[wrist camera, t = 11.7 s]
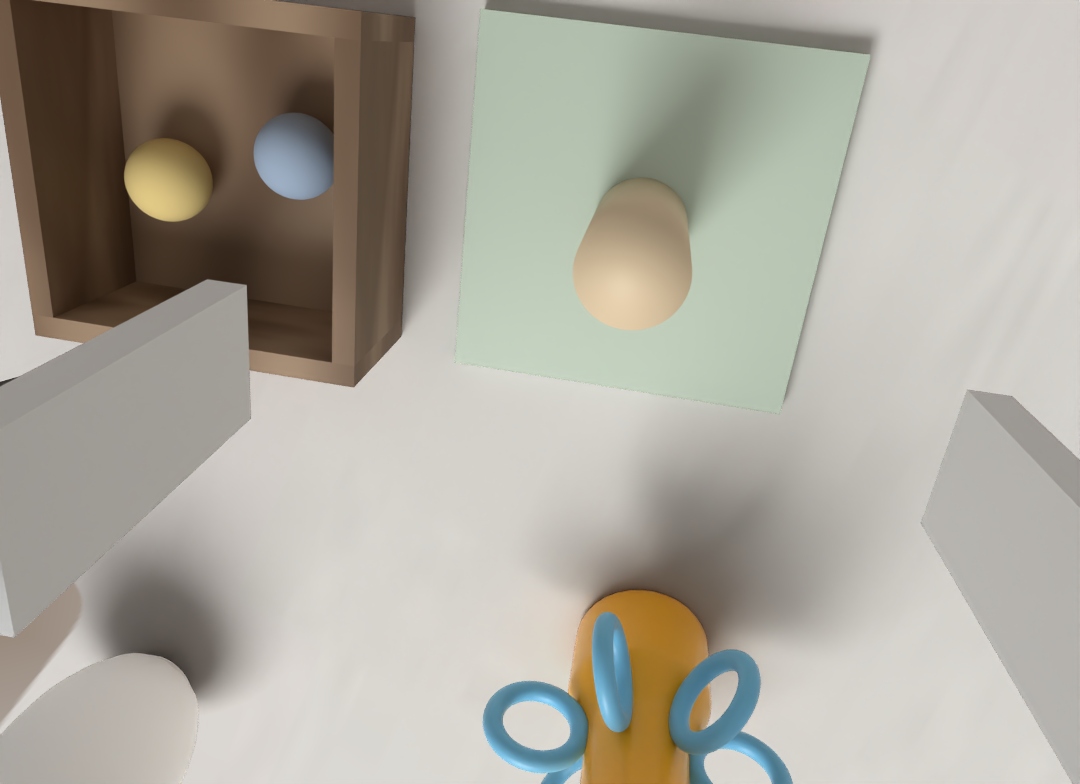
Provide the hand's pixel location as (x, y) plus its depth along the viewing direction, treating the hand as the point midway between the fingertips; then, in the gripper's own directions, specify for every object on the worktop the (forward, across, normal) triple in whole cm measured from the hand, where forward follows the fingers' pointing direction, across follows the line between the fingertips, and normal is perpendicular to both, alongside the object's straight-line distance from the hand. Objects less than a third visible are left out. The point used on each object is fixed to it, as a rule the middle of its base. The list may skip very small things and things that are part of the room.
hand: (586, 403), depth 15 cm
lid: (+17, +1, 0) cm, 17 cm away
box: (+17, -14, 0) cm, 22 cm away
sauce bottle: (+18, -20, -27) cm, 38 cm away
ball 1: (+15, -17, 0) cm, 23 cm away
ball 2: (+15, -12, +1) cm, 19 cm away
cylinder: (+17, +4, -19) cm, 26 cm away
